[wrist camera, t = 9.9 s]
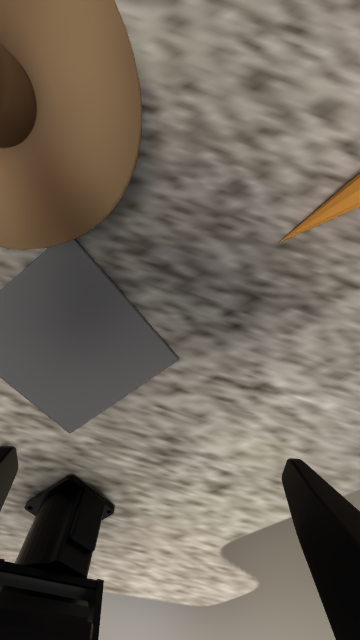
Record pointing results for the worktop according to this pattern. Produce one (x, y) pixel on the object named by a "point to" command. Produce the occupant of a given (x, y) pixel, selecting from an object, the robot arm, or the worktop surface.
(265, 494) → the worktop surface
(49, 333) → the mat
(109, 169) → the lid
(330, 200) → the carrot
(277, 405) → the worktop surface
